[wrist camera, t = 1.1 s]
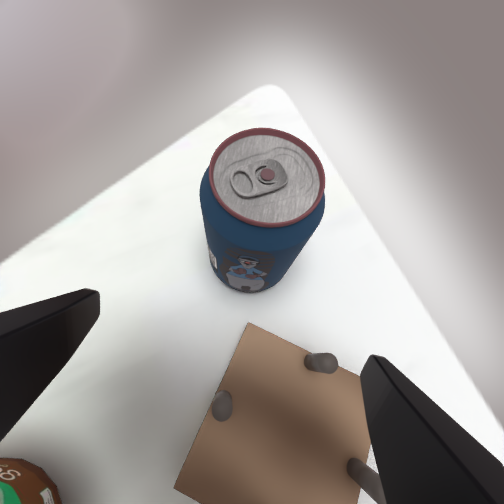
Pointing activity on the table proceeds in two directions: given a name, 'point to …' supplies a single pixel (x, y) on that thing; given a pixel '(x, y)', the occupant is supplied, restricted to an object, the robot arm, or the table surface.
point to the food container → (25, 484)
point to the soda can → (260, 206)
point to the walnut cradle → (282, 431)
